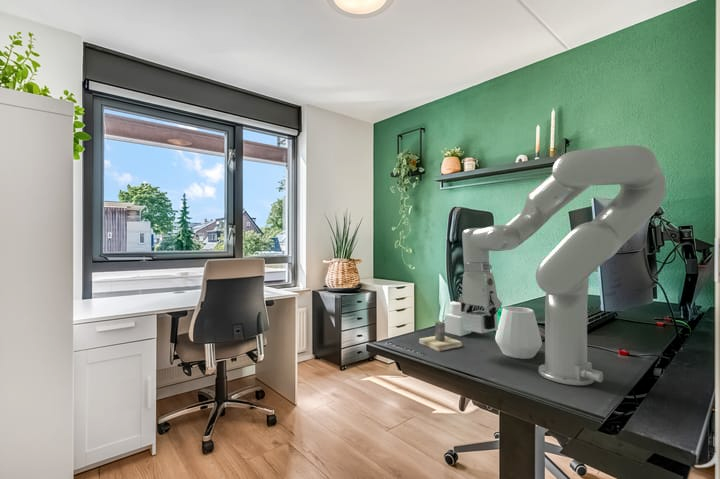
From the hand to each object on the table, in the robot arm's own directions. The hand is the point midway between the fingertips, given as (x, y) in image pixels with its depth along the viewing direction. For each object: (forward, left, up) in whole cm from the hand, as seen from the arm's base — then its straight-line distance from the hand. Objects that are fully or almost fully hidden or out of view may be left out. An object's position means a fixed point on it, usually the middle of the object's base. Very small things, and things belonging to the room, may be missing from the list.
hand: (480, 326), depth 108 cm
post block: (+15, +2, -9) cm, 18 cm away
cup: (-4, -13, -10) cm, 16 cm away
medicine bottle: (+23, -14, -10) cm, 29 cm away
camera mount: (+13, -29, -10) cm, 33 cm away
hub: (0, 0, -1) cm, 1 cm away
